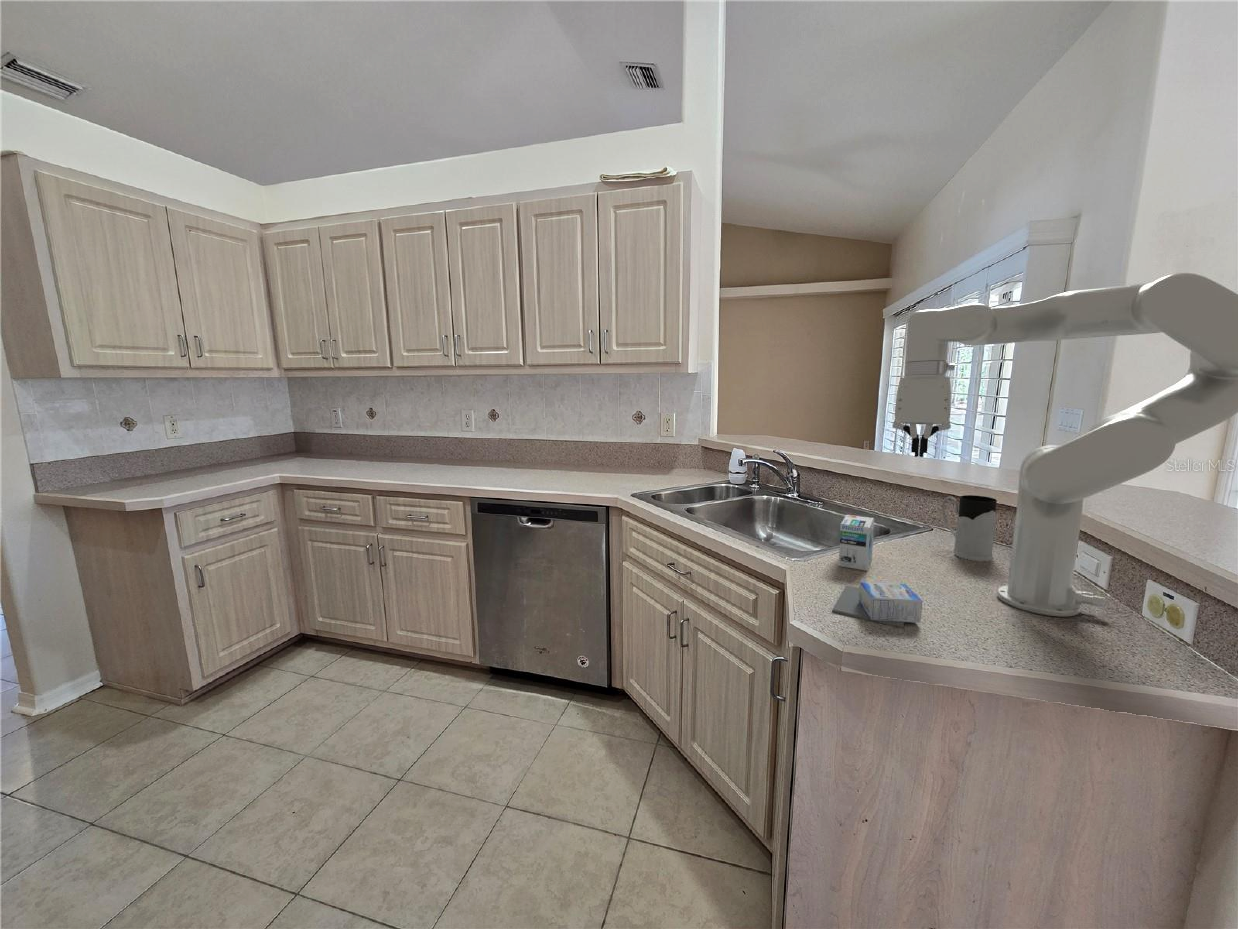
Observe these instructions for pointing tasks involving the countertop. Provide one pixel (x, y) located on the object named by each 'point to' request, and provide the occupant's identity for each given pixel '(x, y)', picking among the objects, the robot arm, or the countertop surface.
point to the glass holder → (974, 527)
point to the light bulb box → (856, 542)
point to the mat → (856, 606)
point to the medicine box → (890, 602)
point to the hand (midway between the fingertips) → (918, 456)
